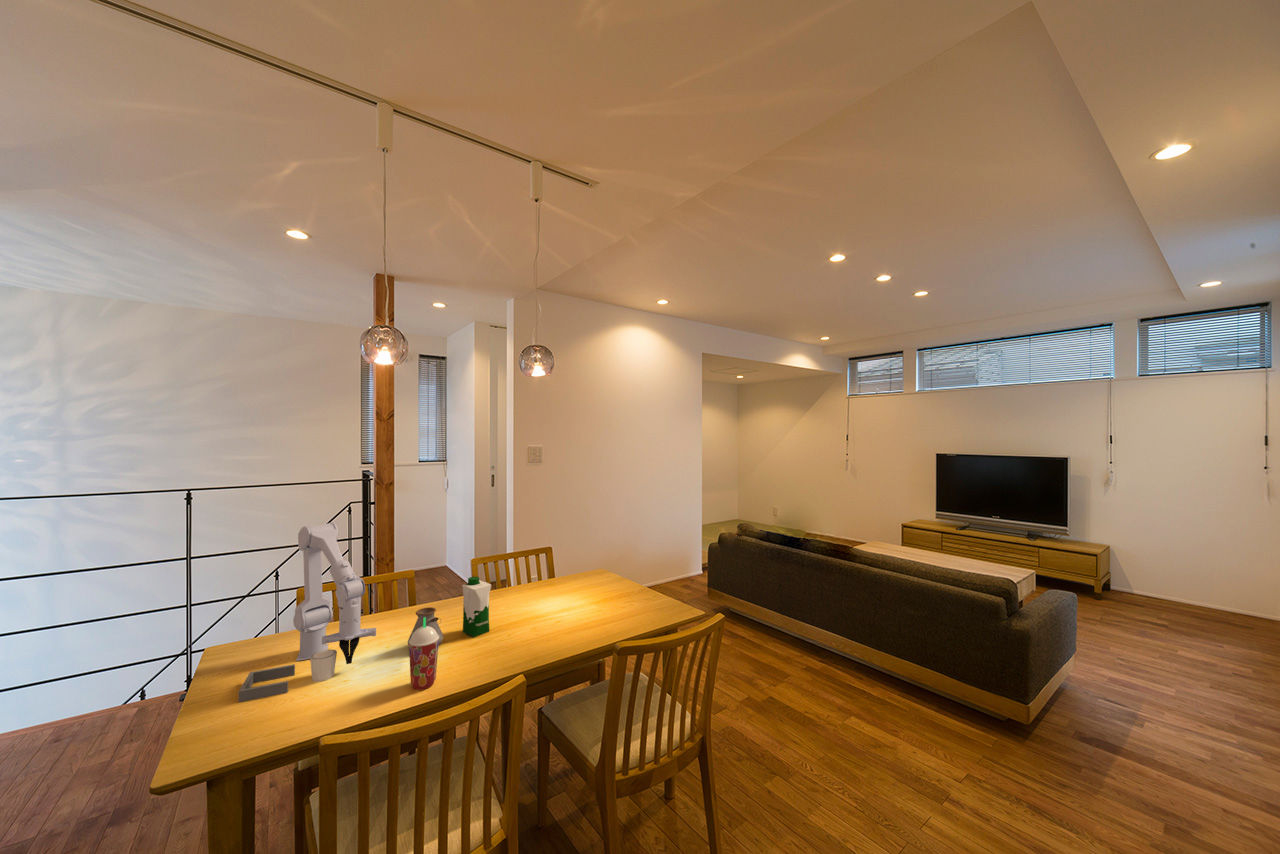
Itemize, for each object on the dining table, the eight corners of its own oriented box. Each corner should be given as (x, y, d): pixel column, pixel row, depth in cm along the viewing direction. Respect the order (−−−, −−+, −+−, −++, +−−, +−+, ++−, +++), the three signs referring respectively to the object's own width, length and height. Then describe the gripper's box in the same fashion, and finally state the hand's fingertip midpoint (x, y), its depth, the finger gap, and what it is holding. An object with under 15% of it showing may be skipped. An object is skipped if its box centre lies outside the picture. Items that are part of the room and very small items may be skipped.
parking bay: (249, 682, 141) (250, 672, 141) (294, 673, 146) (295, 664, 146) (238, 702, 130) (238, 691, 130) (287, 692, 136) (287, 682, 136)
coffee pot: (404, 645, 166) (405, 603, 167) (438, 637, 173) (439, 596, 174) (417, 670, 149) (418, 622, 150) (455, 660, 156) (456, 614, 157)
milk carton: (479, 625, 184) (480, 574, 185) (493, 631, 179) (494, 578, 179) (458, 632, 177) (459, 579, 178) (472, 639, 172) (473, 584, 172)
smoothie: (442, 677, 145) (444, 612, 145) (431, 692, 136) (433, 623, 137) (415, 677, 145) (416, 612, 145) (402, 692, 136) (403, 623, 136)
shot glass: (331, 669, 149) (332, 646, 150) (339, 676, 145) (340, 653, 145) (306, 677, 144) (306, 654, 144) (313, 685, 140) (314, 661, 140)
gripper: (320, 627, 141) (319, 673, 141) (376, 619, 148) (375, 662, 148) (323, 619, 147) (322, 663, 147) (376, 611, 154) (375, 653, 154)
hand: (349, 662), depth 148 cm, fingers closed
